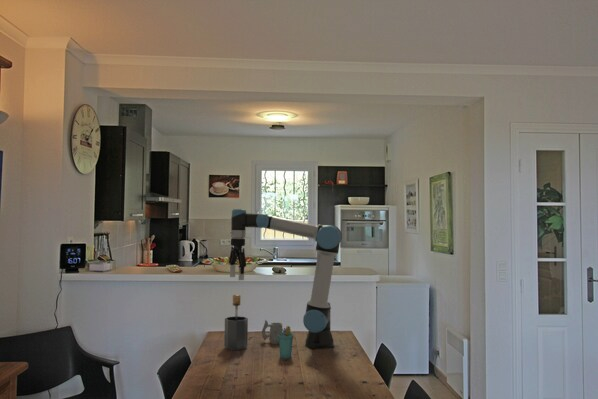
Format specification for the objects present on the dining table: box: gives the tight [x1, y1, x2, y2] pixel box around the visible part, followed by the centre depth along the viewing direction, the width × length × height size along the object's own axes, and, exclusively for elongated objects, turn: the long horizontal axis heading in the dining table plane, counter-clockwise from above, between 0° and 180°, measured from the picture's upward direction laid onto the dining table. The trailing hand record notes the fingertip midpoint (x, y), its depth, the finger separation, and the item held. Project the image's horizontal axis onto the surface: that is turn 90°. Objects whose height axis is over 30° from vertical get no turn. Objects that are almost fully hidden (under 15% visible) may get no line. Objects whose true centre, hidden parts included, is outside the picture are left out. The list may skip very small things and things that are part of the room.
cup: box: [278, 325, 295, 359], centre depth 226 cm, size 14×8×15 cm, turn 175°
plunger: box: [232, 294, 242, 321], centre depth 243 cm, size 6×6×17 cm
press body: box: [223, 315, 249, 351], centre depth 244 cm, size 15×11×15 cm
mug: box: [261, 319, 284, 345], centre depth 255 cm, size 8×12×12 cm, turn 98°
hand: (236, 278), depth 245 cm, fingers open, 13 cm apart
